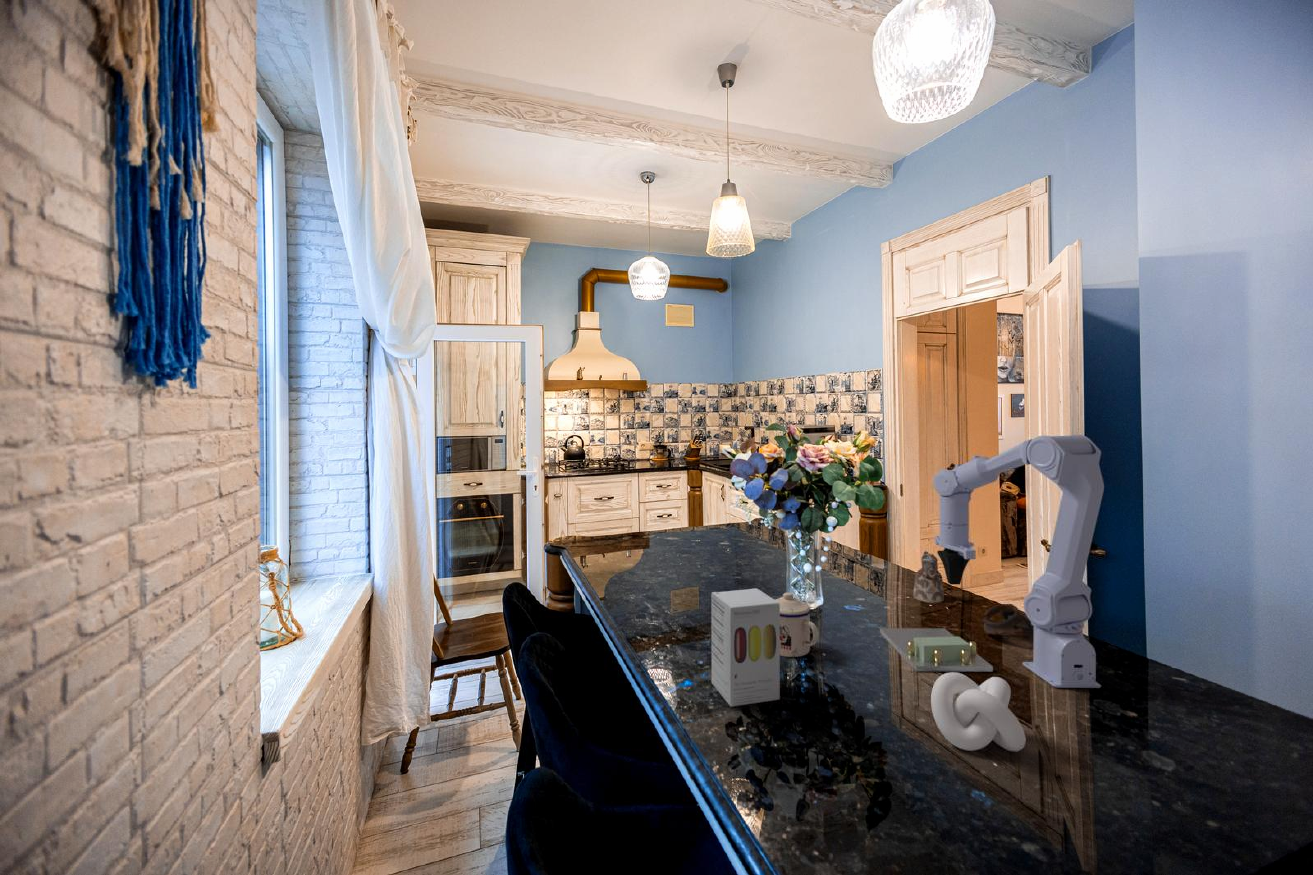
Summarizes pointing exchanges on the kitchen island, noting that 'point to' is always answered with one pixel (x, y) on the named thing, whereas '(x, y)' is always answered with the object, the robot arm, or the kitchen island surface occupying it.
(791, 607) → the teacup with lid
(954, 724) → the white decorative knot
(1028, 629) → the pottery mug
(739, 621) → the supplement box
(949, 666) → the chassis
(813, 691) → the kitchen island surface
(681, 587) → the kitchen island surface
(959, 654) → the pale green block
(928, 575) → the figurine
